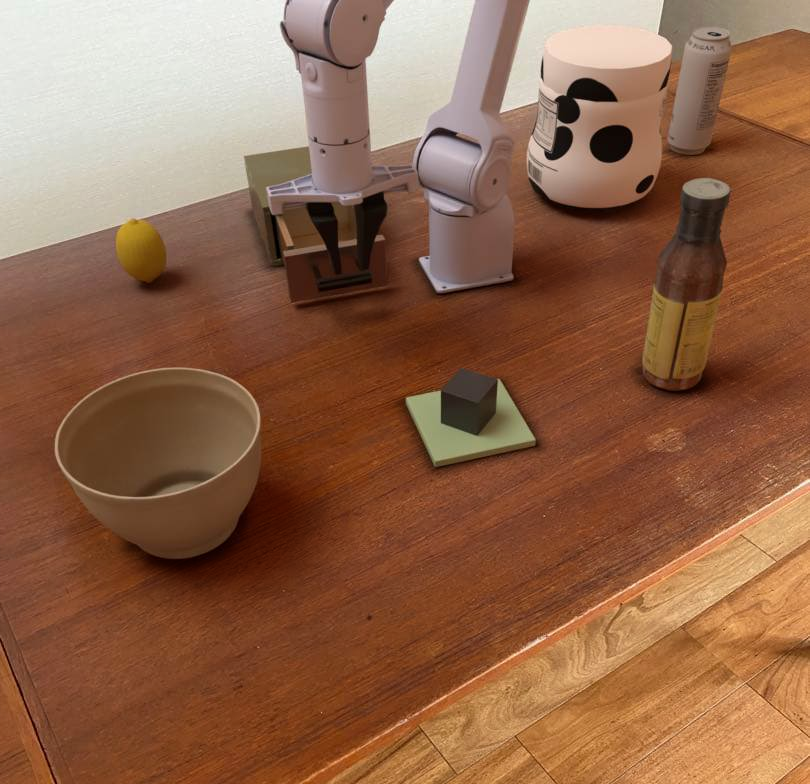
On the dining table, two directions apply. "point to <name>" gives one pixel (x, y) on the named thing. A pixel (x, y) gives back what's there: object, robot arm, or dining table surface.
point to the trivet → (460, 446)
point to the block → (468, 401)
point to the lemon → (141, 250)
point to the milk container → (599, 117)
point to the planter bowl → (164, 458)
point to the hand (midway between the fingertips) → (350, 267)
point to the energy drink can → (699, 90)
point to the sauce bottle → (687, 289)
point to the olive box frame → (270, 173)
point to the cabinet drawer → (325, 256)
